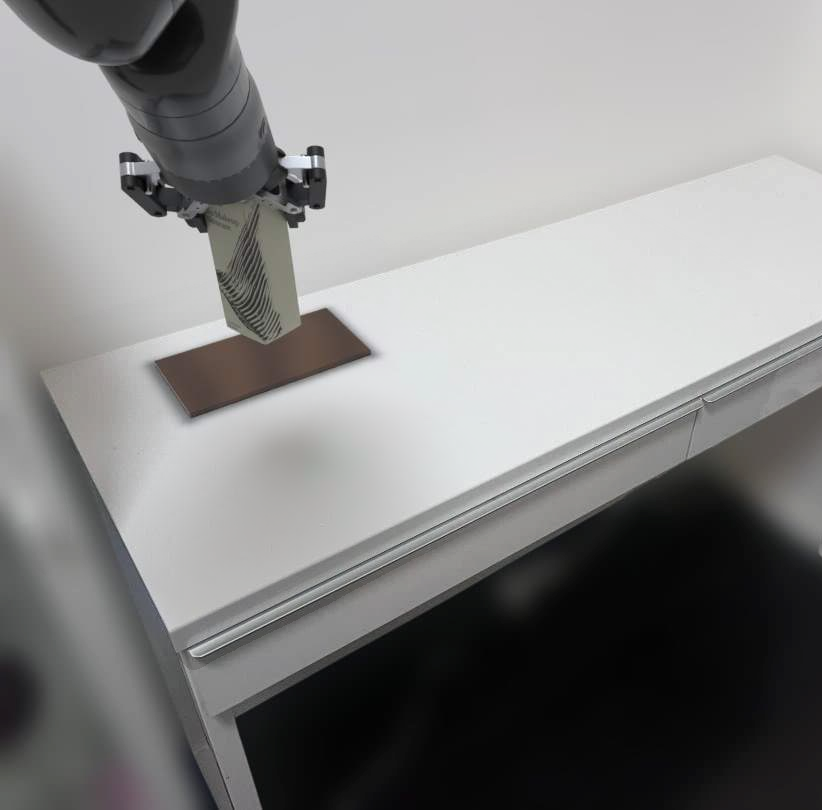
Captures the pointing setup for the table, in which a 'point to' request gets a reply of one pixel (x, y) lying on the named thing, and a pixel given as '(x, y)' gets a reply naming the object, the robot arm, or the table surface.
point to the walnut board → (258, 362)
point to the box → (254, 269)
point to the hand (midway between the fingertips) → (249, 219)
